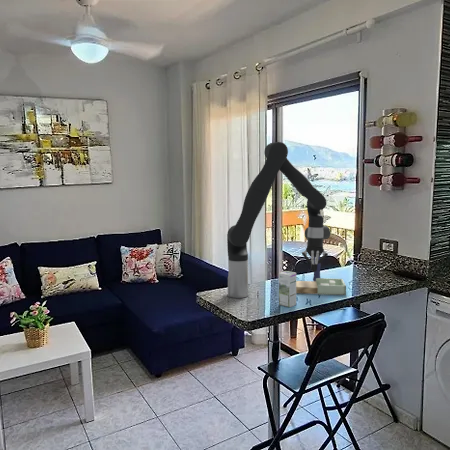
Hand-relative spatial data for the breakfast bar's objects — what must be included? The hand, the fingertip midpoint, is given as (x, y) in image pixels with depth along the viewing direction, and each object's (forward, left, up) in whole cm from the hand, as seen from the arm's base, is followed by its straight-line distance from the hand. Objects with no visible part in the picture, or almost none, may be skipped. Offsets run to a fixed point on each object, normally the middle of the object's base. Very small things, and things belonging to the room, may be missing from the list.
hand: (314, 271), depth 206 cm
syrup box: (-13, -25, -10) cm, 30 cm away
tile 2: (+7, 0, -7) cm, 10 cm away
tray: (+8, 0, -9) cm, 12 cm away
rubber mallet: (+2, +15, -10) cm, 18 cm away
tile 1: (+5, 0, -9) cm, 10 cm away
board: (-5, 0, -10) cm, 11 cm away
